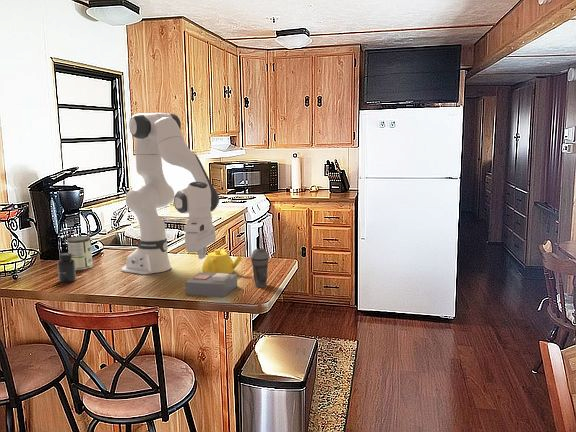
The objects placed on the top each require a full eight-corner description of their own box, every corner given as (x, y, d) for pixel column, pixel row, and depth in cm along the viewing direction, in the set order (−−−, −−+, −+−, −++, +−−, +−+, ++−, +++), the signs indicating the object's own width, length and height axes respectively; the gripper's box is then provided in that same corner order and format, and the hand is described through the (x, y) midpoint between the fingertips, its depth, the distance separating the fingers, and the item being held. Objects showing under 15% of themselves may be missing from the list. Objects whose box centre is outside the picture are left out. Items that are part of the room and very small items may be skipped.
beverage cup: (251, 283, 217) (250, 236, 213) (269, 282, 217) (267, 235, 214) (251, 288, 209) (250, 239, 206) (270, 287, 210) (268, 239, 207)
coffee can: (70, 265, 252) (68, 236, 249) (93, 263, 254) (91, 235, 252) (68, 271, 242) (65, 241, 239) (92, 268, 244) (89, 239, 242)
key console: (185, 294, 204) (185, 282, 203) (201, 283, 217) (200, 272, 216) (224, 297, 200) (223, 284, 199) (237, 286, 213) (236, 274, 212)
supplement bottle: (59, 284, 221) (57, 256, 219) (58, 280, 227) (55, 253, 225) (77, 281, 224) (74, 254, 222) (75, 277, 230) (72, 251, 228)
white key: (212, 282, 205) (212, 276, 205) (217, 279, 210) (217, 273, 209) (224, 283, 204) (224, 277, 203) (229, 279, 208) (229, 273, 208)
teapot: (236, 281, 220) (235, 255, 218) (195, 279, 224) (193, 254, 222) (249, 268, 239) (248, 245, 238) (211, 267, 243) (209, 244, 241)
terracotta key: (194, 284, 207) (193, 278, 207) (199, 280, 212) (199, 274, 212) (205, 285, 206) (205, 278, 206) (211, 281, 211) (210, 275, 210)
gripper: (204, 218, 215) (206, 251, 218) (181, 228, 196) (183, 264, 198) (218, 219, 214) (220, 252, 216) (196, 229, 194) (198, 265, 197)
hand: (202, 258), depth 207 cm, fingers closed
